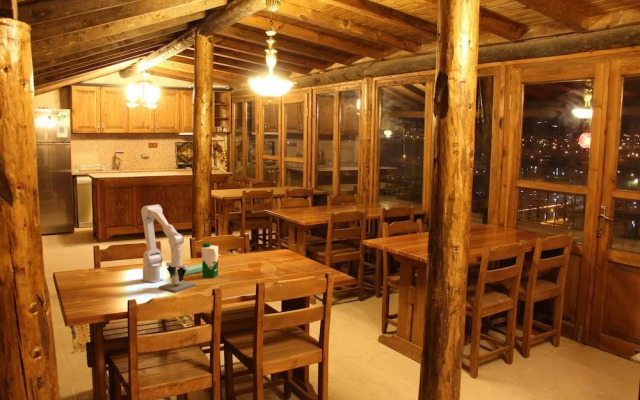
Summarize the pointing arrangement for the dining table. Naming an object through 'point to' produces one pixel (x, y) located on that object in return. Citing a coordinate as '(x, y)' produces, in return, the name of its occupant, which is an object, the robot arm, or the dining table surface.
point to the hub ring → (176, 279)
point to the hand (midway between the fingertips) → (177, 280)
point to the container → (192, 269)
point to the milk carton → (209, 260)
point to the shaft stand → (177, 286)
